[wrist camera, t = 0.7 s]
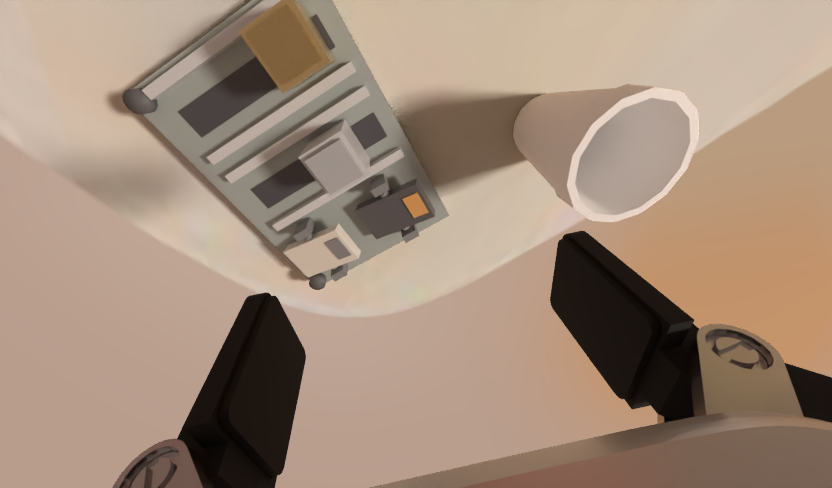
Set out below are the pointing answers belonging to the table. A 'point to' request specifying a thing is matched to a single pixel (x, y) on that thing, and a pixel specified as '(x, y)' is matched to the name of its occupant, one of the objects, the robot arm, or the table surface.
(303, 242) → the rocker ivory
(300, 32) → the slider brass
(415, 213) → the rocker black
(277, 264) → the table surface
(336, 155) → the slider grey
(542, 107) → the foam cup
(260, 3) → the panel
